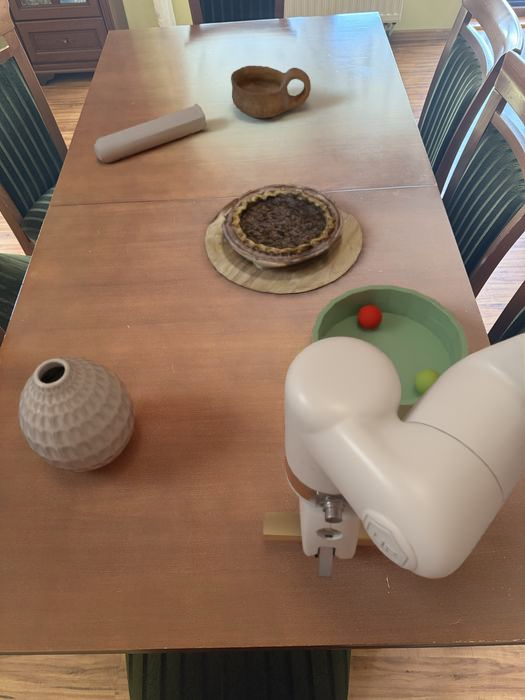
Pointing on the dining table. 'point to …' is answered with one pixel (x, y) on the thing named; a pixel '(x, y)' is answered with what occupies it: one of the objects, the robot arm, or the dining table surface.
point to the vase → (76, 413)
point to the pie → (283, 239)
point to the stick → (295, 529)
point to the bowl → (267, 90)
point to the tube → (150, 134)
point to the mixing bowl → (398, 332)
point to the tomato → (369, 317)
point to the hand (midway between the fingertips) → (319, 531)
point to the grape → (425, 380)
